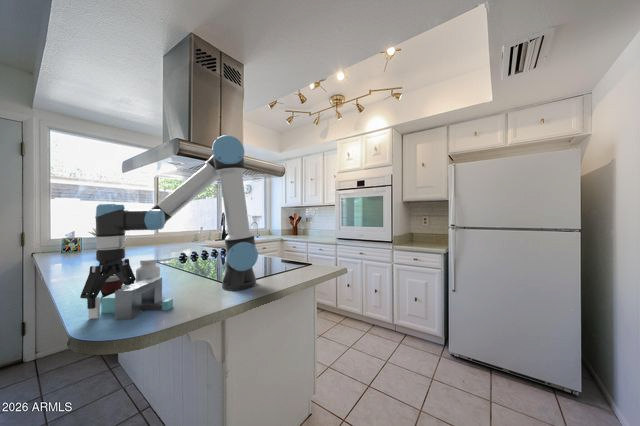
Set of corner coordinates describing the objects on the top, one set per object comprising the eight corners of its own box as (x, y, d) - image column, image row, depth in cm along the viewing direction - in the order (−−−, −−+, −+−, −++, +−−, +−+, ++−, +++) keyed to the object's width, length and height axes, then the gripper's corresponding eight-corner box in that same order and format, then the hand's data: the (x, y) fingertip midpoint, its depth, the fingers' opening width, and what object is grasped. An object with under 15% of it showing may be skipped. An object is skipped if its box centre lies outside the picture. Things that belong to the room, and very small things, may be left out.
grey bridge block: (161, 301, 92) (162, 277, 92) (131, 319, 76) (131, 290, 76) (148, 301, 91) (148, 277, 91) (114, 319, 75) (115, 290, 75)
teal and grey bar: (174, 305, 87) (174, 292, 87) (166, 311, 82) (166, 296, 82) (113, 307, 85) (113, 293, 85) (101, 313, 80) (101, 298, 80)
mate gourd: (120, 291, 103) (121, 256, 103) (125, 295, 98) (125, 259, 98) (97, 296, 97) (97, 259, 97) (100, 300, 92) (101, 261, 92)
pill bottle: (150, 299, 93) (150, 261, 93) (130, 299, 93) (130, 261, 93) (164, 293, 101) (164, 257, 101) (145, 293, 101) (145, 257, 101)
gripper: (126, 244, 95) (127, 297, 95) (63, 254, 70) (63, 326, 70) (146, 243, 96) (146, 296, 96) (89, 253, 71) (90, 325, 71)
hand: (111, 309), depth 83 cm, fingers open, 13 cm apart
